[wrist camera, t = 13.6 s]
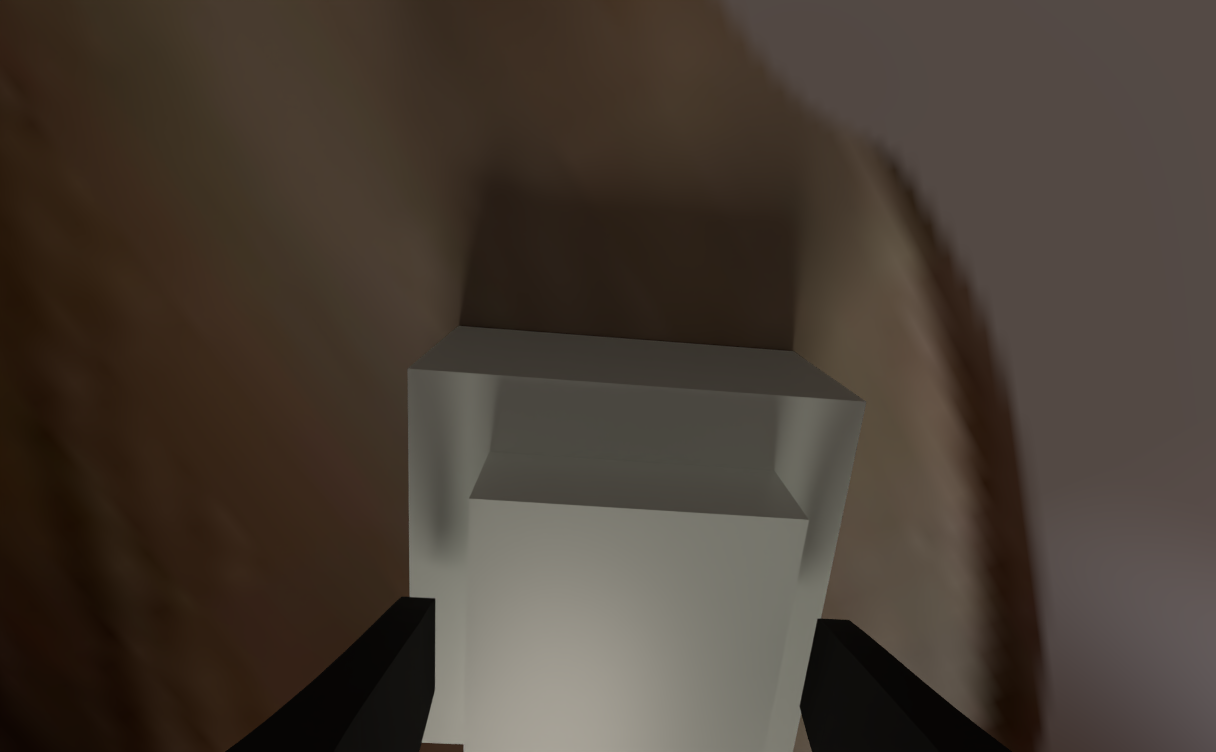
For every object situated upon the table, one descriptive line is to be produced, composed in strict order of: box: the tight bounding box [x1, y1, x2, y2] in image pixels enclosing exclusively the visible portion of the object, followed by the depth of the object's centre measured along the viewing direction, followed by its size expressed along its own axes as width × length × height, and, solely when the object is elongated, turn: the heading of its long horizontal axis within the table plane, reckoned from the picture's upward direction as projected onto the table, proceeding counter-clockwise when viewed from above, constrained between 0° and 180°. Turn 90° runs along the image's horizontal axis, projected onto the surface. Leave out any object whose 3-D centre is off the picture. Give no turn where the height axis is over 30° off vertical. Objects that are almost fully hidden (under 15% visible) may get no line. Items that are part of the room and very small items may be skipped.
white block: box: [408, 326, 866, 752], centre depth 14 cm, size 9×9×6 cm
